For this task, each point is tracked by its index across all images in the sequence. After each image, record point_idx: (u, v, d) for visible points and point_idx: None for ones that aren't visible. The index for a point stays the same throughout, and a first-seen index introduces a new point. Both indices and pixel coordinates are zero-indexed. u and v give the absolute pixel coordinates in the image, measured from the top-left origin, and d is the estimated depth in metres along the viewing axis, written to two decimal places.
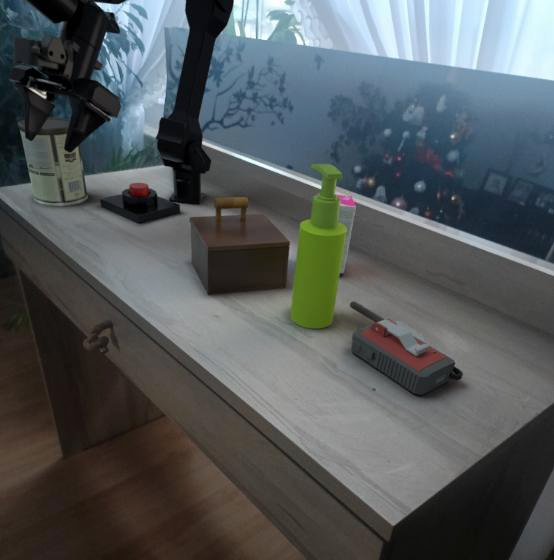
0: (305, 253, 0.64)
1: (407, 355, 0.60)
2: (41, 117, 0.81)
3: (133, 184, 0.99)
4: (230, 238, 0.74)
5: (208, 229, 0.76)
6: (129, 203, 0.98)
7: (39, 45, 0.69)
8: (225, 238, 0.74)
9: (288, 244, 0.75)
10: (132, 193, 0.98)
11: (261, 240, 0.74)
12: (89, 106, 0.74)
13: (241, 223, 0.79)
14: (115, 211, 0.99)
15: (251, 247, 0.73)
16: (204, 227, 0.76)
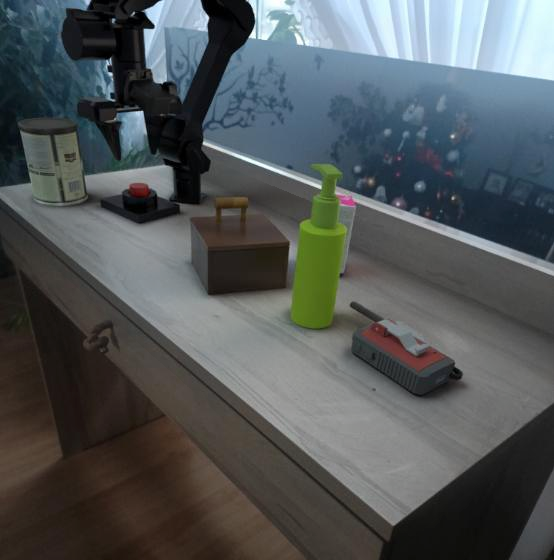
0: (305, 253, 0.64)
1: (407, 355, 0.60)
2: None
3: (133, 184, 0.99)
4: (230, 238, 0.74)
5: (208, 229, 0.76)
6: (129, 203, 0.98)
7: (174, 97, 0.87)
8: (225, 238, 0.74)
9: (288, 244, 0.75)
10: (132, 193, 0.98)
11: (261, 240, 0.74)
12: None
13: (241, 223, 0.79)
14: (115, 211, 0.99)
15: (251, 247, 0.73)
16: (204, 227, 0.76)
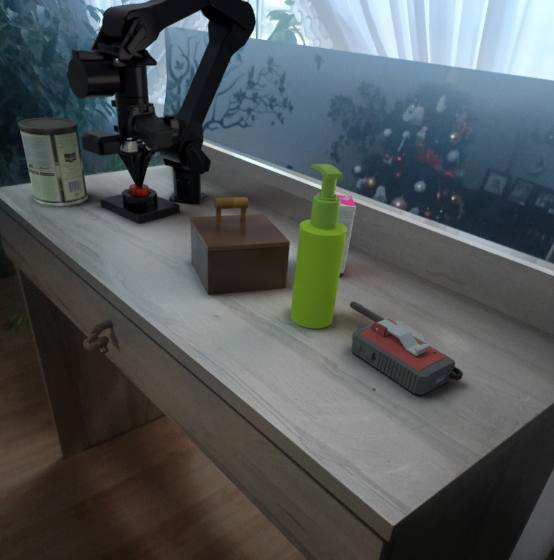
0: (305, 253, 0.64)
1: (407, 355, 0.60)
2: None
3: (133, 185, 0.99)
4: (230, 238, 0.74)
5: (208, 229, 0.76)
6: (129, 203, 0.98)
7: (175, 131, 0.91)
8: (225, 238, 0.74)
9: (288, 244, 0.75)
10: (132, 194, 0.98)
11: (261, 240, 0.74)
12: None
13: (241, 223, 0.79)
14: (115, 211, 0.99)
15: (251, 247, 0.73)
16: (204, 227, 0.76)
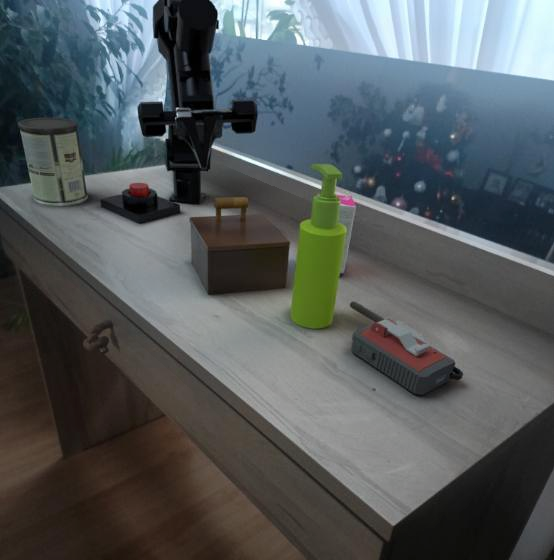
0: (305, 253, 0.64)
1: (407, 355, 0.60)
2: None
3: (133, 184, 0.99)
4: (230, 238, 0.74)
5: (208, 229, 0.76)
6: (129, 203, 0.98)
7: None
8: (225, 238, 0.74)
9: (288, 244, 0.75)
10: (132, 193, 0.98)
11: (261, 240, 0.74)
12: (177, 134, 0.84)
13: (241, 223, 0.79)
14: (115, 211, 0.99)
15: (251, 247, 0.73)
16: (204, 227, 0.76)
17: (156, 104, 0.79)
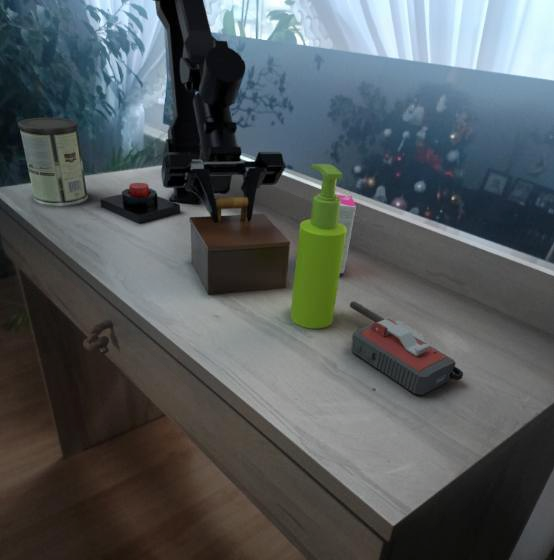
0: (305, 253, 0.64)
1: (407, 355, 0.60)
2: (247, 192, 0.79)
3: (133, 184, 0.99)
4: (230, 238, 0.74)
5: (208, 229, 0.76)
6: (129, 203, 0.98)
7: None
8: (225, 238, 0.74)
9: (288, 244, 0.75)
10: (132, 193, 0.98)
11: (261, 240, 0.74)
12: (185, 186, 0.79)
13: (241, 223, 0.79)
14: (115, 211, 0.99)
15: (251, 247, 0.73)
16: (204, 227, 0.76)
17: (185, 155, 0.75)
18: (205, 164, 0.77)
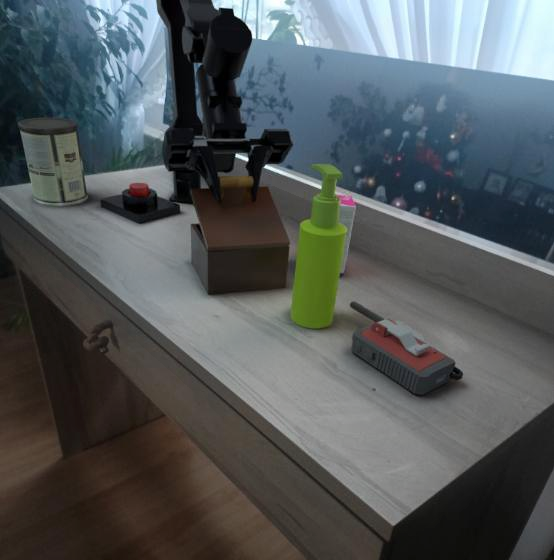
0: (305, 253, 0.64)
1: (407, 355, 0.60)
2: (252, 171, 0.76)
3: (133, 184, 0.99)
4: (231, 232, 0.73)
5: (209, 214, 0.74)
6: (129, 203, 0.98)
7: None
8: (225, 232, 0.73)
9: (288, 244, 0.75)
10: (132, 193, 0.98)
11: (261, 238, 0.74)
12: (187, 164, 0.75)
13: (243, 204, 0.76)
14: (115, 211, 0.99)
15: (251, 247, 0.73)
16: (205, 210, 0.74)
17: (187, 131, 0.71)
18: (208, 141, 0.74)
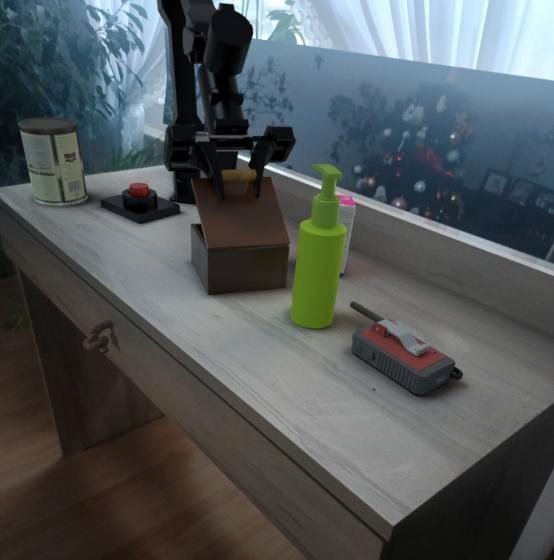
0: (305, 253, 0.64)
1: (407, 355, 0.60)
2: (255, 167, 0.74)
3: (133, 184, 0.99)
4: (231, 230, 0.72)
5: (210, 209, 0.73)
6: (129, 203, 0.98)
7: None
8: (226, 230, 0.72)
9: (288, 244, 0.75)
10: (132, 193, 0.98)
11: (262, 237, 0.73)
12: (190, 162, 0.74)
13: (245, 197, 0.75)
14: (115, 211, 0.99)
15: (251, 246, 0.73)
16: (206, 204, 0.73)
17: (189, 126, 0.70)
18: (210, 137, 0.72)
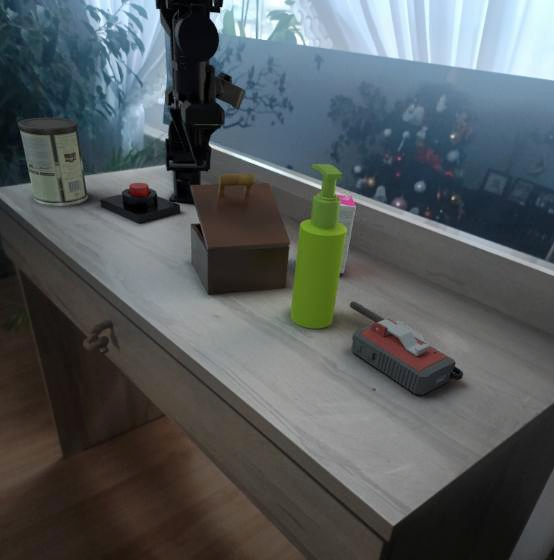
0: (305, 253, 0.64)
1: (407, 355, 0.60)
2: None
3: (133, 184, 0.99)
4: (231, 231, 0.73)
5: (209, 212, 0.74)
6: (129, 203, 0.98)
7: None
8: (226, 231, 0.73)
9: (288, 244, 0.75)
10: (132, 193, 0.98)
11: (261, 237, 0.73)
12: None
13: (244, 202, 0.76)
14: (115, 211, 0.99)
15: (251, 247, 0.73)
16: (205, 207, 0.74)
17: (167, 94, 0.89)
18: None
